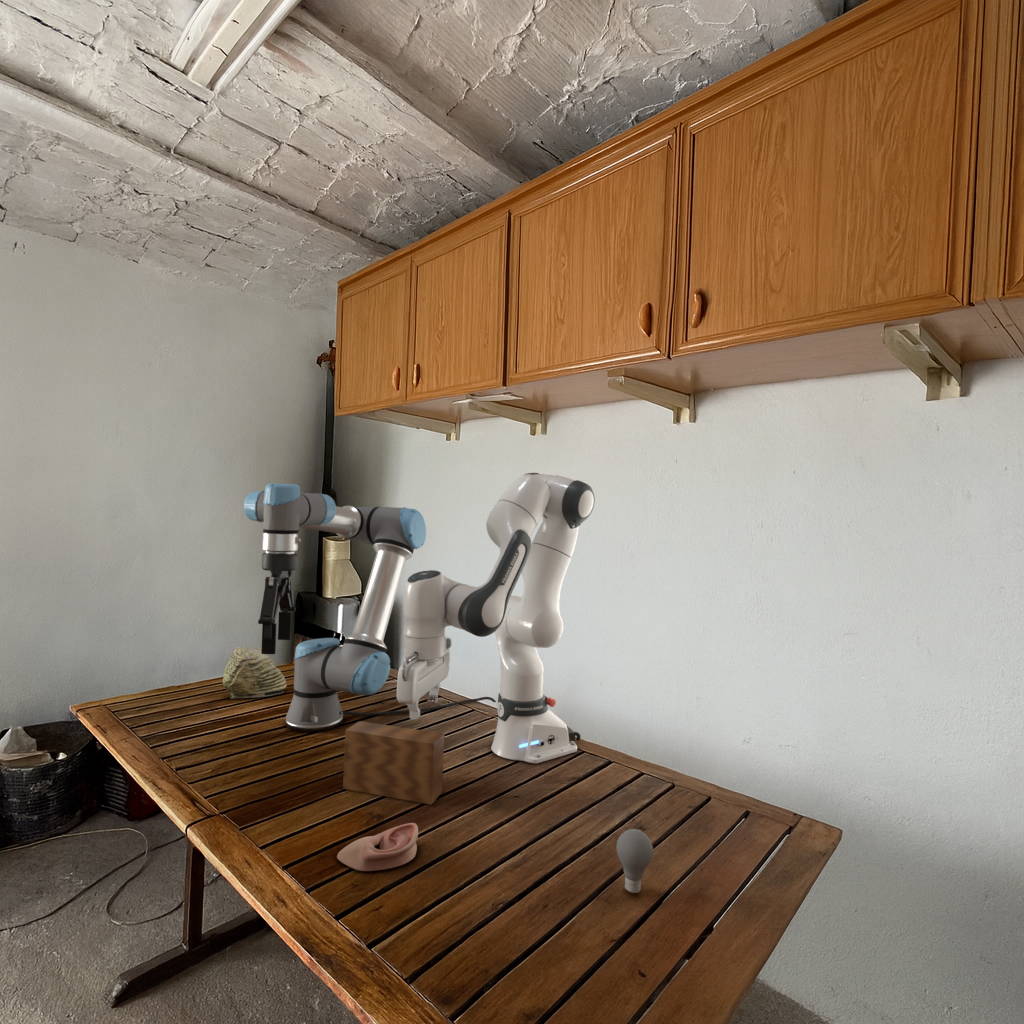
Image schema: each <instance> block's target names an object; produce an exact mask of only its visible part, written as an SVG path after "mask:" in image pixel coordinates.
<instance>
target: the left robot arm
mask: <svg viewBox="0 0 1024 1024" xmlns="http://www.w3.org/2000/svg"><path fill="white" fill-rule="evenodd" d="M243 512H244V515H245V516H246V518H247V519H248V520H250V521H254V522H259V523H262V525H263V527H262V542H261V543H262V544H261V547H262V548H261V550H262V551H264V552H263V554H261V569H262V570H263V571H268V572H270V575H269V576H265V579H264V591H263V597H262V603H261V608H260V615H259V619H258V620H257V623H258V625H261V626H262V627H261V649H262V651H261V654H267V655H276V651H277V650H276V649H277V648H276V646H277V641H290V640H291V637H292V612H296V606H295V601H294V600H295V599H294V589H293V576H292V575H293V571H295V570H296V571H297V569H298V557H299V556H298V553H296V552H297V551H298V549H299V543H300V542H302V540H301V537H299V532H300V531H299V529H300V528H304V529H309V530H315V531H321V532H327V533H332V534H336V535H337V536H338V537H340V538H343V539H348V540H352V541H354V542H355V541H356V542H358V543H362V544H366V545H371V546H372V548H373V550H374V551H375V553H376V554H375V557H374V560H373V563H372V567H371V570H370V573H369V577H368V580H367V584H366V587H365V591H364V593H363V597H362V601H361V604H360V608H359V610H358V614H357V618H356V621H355V624H354V627H353V630H352V633H351V634H350V635H348V636H346V637H345V638H344V641H343V645H342V646H341V645H340V644H341V643H340V640H339V638H336V637H321V638H313V639H307V640H304V641H302V642H299V643H298V644H297V645H296V647H295V652H294V653H295V654H294V657H293V660H294V661H293V662H294V663H293V664H294V668H293V695H292V696H293V697H292V699H291V702H290V704H289V708H288V711H287V713H286V715H285V726H286V728H287V729H289V730H291V731H294V732H295V731H296V732H301V733H316V732H325V731H329V730H332V729H335V728H337V727H339V726H340V725H342V723H343V722H344V715H352V716H353V715H354V716H364V717H366V716H367V717H370V716H374V717H375V716H385V715H395V714H396V715H397V714H410V711H409V709H405V710H403V709H402V710H389V711H379V712H361V711H345V710H343V709H342V706H341V702H340V699H339V695H338V691H340V692H344V693H350V694H354V695H356V696H360V695H362V696H372V695H375V694H376V693H378V692H379V691H380V690H381V689H382V688H383V687H384V685H385V684H386V682H387V680H388V678H389V676H390V672H391V658H390V656H389V655H388V654H387V650H388V647H387V645H386V643H385V642H384V639H385V635H386V632H387V628H388V625H389V621H390V618H391V615H392V611H393V607H394V603H395V600H396V596H397V593H398V588H399V586H400V582H401V578H402V575H403V572H404V568H405V564H406V561H408V560H410V559H411V558H412V557H413V556H414V555H413V554H414V551H415V550H418V549H421V548H422V547H423V546H424V544H425V543H426V538H427V527H426V526H427V525H426V522H425V519H424V516H423V515H422V513H421V512H420V511H419V510H418V509H415V508H409V507H395V506H394V507H392V506H373V505H372V506H353V505H344V506H337V505H336V502H335V500H334V498H332V497H331V496H330V495H328V494H326V493H325V494H324V493H320V492H319V493H318V492H316V493H312V492H311V493H308V492H306V493H305V492H301V487H300V485H299V484H294V483H279V482H278V483H277V482H276V483H275V482H274V483H272V482H271V483H267V484H266V486H265V488H264V490H259V491H257V490H256V491H252V492H250V493H249V494H247V496H246V497H245V499H244V502H243ZM278 610H280V611H278ZM277 615H278V625H277V623H276V619H277ZM277 626H278V627H277ZM483 700H488V701H491V702H493V703H496V702H497V700H495V699H494V698H493V697H490V696H482V697H477V698H471V699H470V698H469V699H464V700H460V701H454V702H450V703H445V704H440V705H435V706H429V707H424V708H419V709H420V713H421V712H427V711H433V710H438V709H443V708H447V707H448V708H449V707H452V706H457V705H461V704H466V703H467V704H468V703H473V702H474V703H475V702H479V701H483Z"/></svg>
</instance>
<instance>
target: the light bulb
mask: <svg viewBox="0 0 1024 1024" xmlns="http://www.w3.org/2000/svg"><path fill="white" fill-rule="evenodd" d="M615 849H616V854H617V857H618V859H619V861H620V863H621V865H622V867H623V873H624V874H623V875H624V876H625V878H624V888H625V890H627V891H628V892H630V893H634V894H635V893H639V892H640V891H641V889H642V887H641V886H642V879H643V877H644V875H645V871H646V868H647V867H648V866H649V864H650V863H651V861H652V859H653V855H654V847H653V843H652V841H651V838H649V836H648V835H647V834H646V833H645V832H643V831H642V830H641V829H636V828H629V829H627V830H625V831H623V832H622V833H621V834H620V835H619V837H618V839H617V841H616V847H615Z"/></svg>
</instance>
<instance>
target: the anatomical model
mask: <svg viewBox="0 0 1024 1024" xmlns="http://www.w3.org/2000/svg"><path fill="white" fill-rule="evenodd" d="M418 837H419V826H418V825H417V823H415V822H409V823H404V824H400V825H397V826H394V827H391V828H389V829H387V830H385V831H381V833H377V834H375V835H369V836H364V837H361V838H358V839H356V840H354V841H352V842H350V843H349V844H347V845H346V846H345V847H343V848H342V849H341V850H339V852H337V854H336V859H337V860H338V861H339V862H341V863H342V864H343V865H346V867H349V868H351V869H353V870H356V871H359V872H373V871H381V870H383V871H384V870H389V869H393V868H396V867H397V868H398V867H400V866H403V865H405V864H407V863H409V862H410V861H412V860H413V859H414V858H415V857H416V855H417V851H418V844H417V841H418Z"/></svg>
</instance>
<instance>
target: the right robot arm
mask: <svg viewBox="0 0 1024 1024" xmlns="http://www.w3.org/2000/svg"><path fill="white" fill-rule="evenodd" d="M595 501H596V498H595V493H594V490H593V488H592V487H591V485H589V484H587V483H586V482H585V481H582V480H578V479H576V480H575V479H572V478H569V477H565V476H561V475H556V474H555V475H552V474H545V473H541V474H540V473H539V472H528V473H524V474H522V475H520V476H519V477H517V478H516V480H515V481H513V482H512V483H511V484H510V485H509V486H508V488H506V490H504V492H503V494H501V496H500V497H499V499H498V500H497V502H496V503H495V505H494V506H493V508H492V509H491V511H490V513H489V515H488V517H487V519H486V522H485V523H486V532H487V535H488V537H489V538H490V540H491V541H492V543H494V544H495V546H497V548H498V549H499V555H498V557H497V560H496V561H495V564H494V565H493V568H492V570H491V571H490V573H489V576H488V578H487V579H486V581H485V582H484V583H483V584H481V585H480V586H473V585H470V584H466V583H462V582H458V581H455V580H453V579H450V578H449V577H447V576H445V575H443V574H442V572H441V571H439V570H434V569H429V570H422V571H421V570H420V571H418V572H417V571H416V572H415V573H413V574H411V575H410V576H409V577H408V578H407V580H406V582H405V587H404V591H403V605H402V606H403V618H404V629H403V633H402V634H403V643H402V644H403V646H402V647H403V652H402V653H403V655H402V656H403V657H404V659H403V660H404V662H403V663H402V664H401V665H400V666H399V669H398V672H397V683H396V700H397V702H398V703H400V704H405V705H406V706H407V708H408V709H407V710H409V711H410V713H409V719H410V720H414V721H417V720H418V719H419V718H420V717H421V712H420V709H421V708H419V703H420V699H421V698H423V697H424V696H425V695H426V694H427V693H428V695H427V704H428V705H433V706H434V705H435V704H436V703H438V701H439V700H438V699H439V698H438V697H439V691H440V689H441V688H440V687H441V682H443V681H444V680H445V679H447V678H448V675H449V671H450V661H451V647H452V645H453V639H452V637H448V636H446V627H450V626H452V627H453V628H456V629H459V630H462V631H465V632H467V633H469V634H471V635H473V636H476V637H479V638H480V637H481V638H484V637H488V636H490V635H492V634H494V633H495V638H496V642H497V649H498V655H499V661H500V683H499V684H500V685H499V693H498V695H497V696H498V697H497V709H496V710H497V722H496V729H495V733H494V737H493V741H492V744H491V747H490V748H491V751H492V752H493V753H494V754H495V755H496V756H498V757H501V758H503V759H507V760H513V761H521V762H526V763H530V764H539V763H543V762H547V761H551V760H553V759H557V758H560V757H563V756H567V755H570V754H573V753H576V752H578V745H577V744H576V742H575V741H577V742H580V741H581V733H579V732H577V731H574V730H573V729H572V728H570V727H569V726H568V725H567V724H566V723H565V722H564V721H563V720H562V719H561V718H560V717H559V716H557V714H555V713H554V712H553V711H552V710H550V709H549V707H551V708H554V707H555V706H556V705H557V700H556V699H554V698H552V697H551V696H550V697H548V696H546V695H545V694H544V673H545V671H544V670H545V669H544V668H545V667H544V663H543V661H542V660H541V658H540V656H539V652H538V649H547V648H552V647H554V646H555V645H556V644H557V643H558V642H559V641H560V640H561V637H562V636H563V632H564V621H563V618H562V616H561V611H560V599H561V590H562V585H563V582H564V579H565V576H566V573H567V572H568V571H567V570H568V568H569V565H570V563H571V560H572V558H573V554H574V551H575V548H576V544H577V541H578V535H579V529H580V526H581V525H582V524H583V523H584V522H585V521H587V520H588V518H589V517H590V516H591V514H592V513H593V510H594V508H595ZM541 520H542V522H541V523H540V521H541ZM539 523H540V525H539ZM538 525H539V528H538V529H537V531H536V533H535V535H534V537H533V539H531V538H532V535H533V533H534V531H535V529H536V528H537V526H538ZM520 576H522V578H523V590H522V596H518V595H512V594H513V593H514V592H513V591H514V590H515V588H516V585H517V584H518V581H519V579H520ZM537 648H538V649H537ZM548 706H549V707H548Z"/></svg>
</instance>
